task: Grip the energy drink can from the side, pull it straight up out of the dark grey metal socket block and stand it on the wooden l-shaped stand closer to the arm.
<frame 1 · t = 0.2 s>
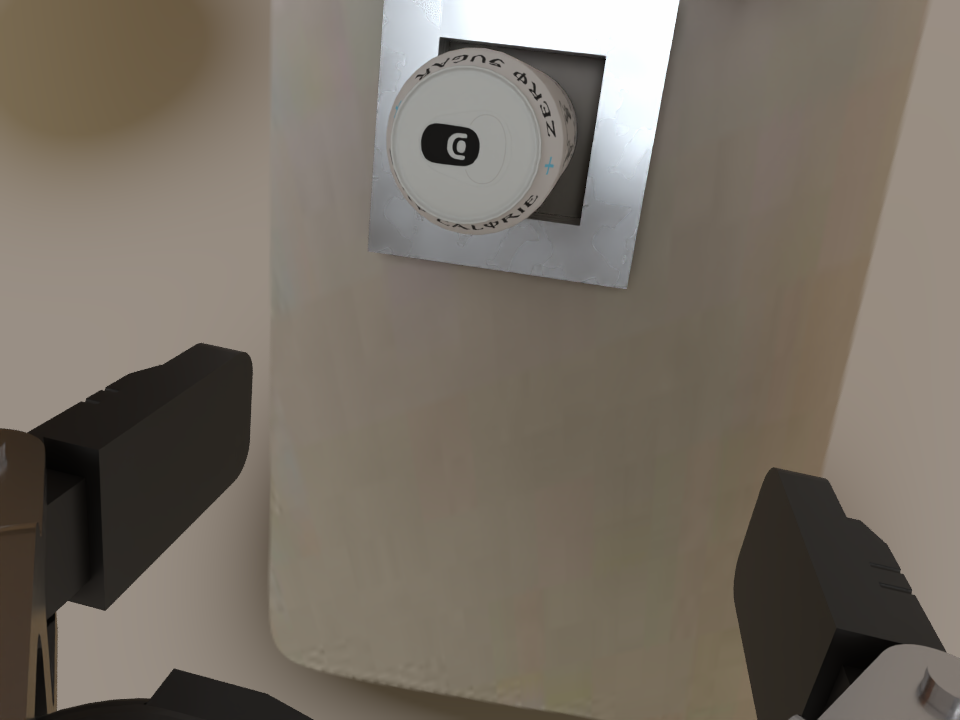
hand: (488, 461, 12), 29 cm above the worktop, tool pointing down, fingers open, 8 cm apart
energy drink can: (517, 131, 38), resting in socket block
socket block: (517, 131, 38), on the worktop
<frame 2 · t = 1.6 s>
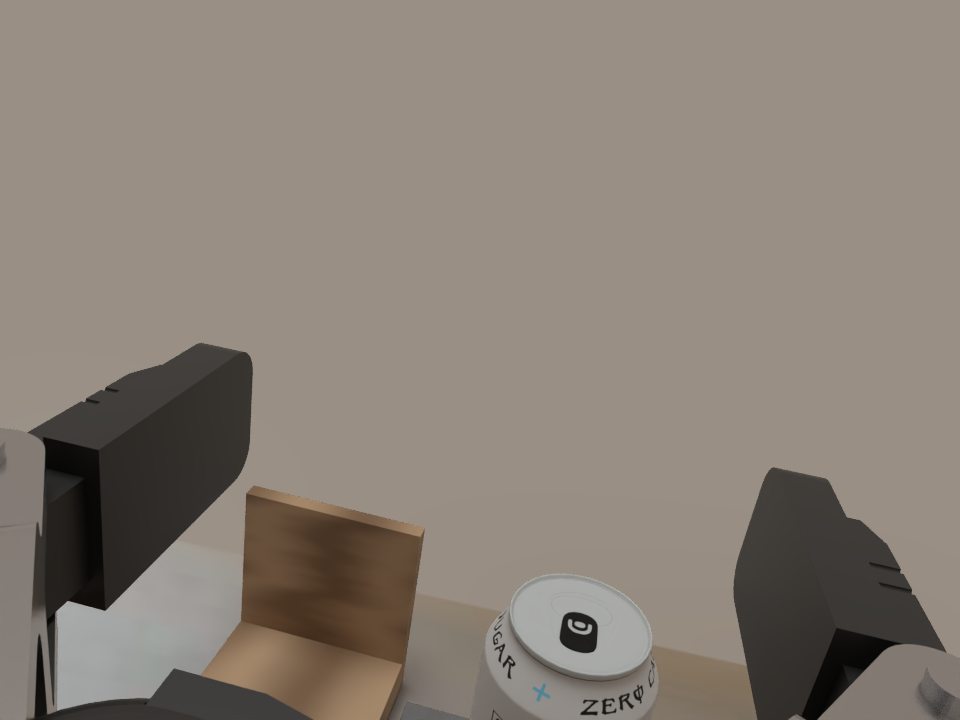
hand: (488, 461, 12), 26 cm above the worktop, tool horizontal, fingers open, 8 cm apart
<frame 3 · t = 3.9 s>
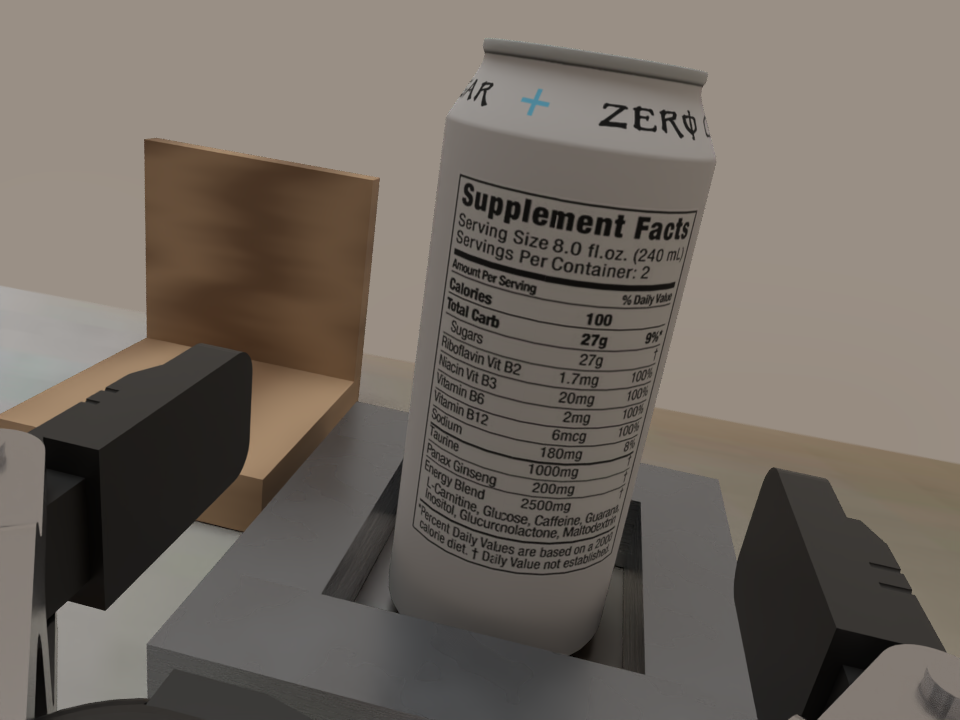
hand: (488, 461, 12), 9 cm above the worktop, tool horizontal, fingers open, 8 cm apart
energy drink can: (489, 620, 22), resting in socket block
wooden l-shaped stand: (200, 442, 28), on the worktop
socket block: (490, 614, 22), on the worktop
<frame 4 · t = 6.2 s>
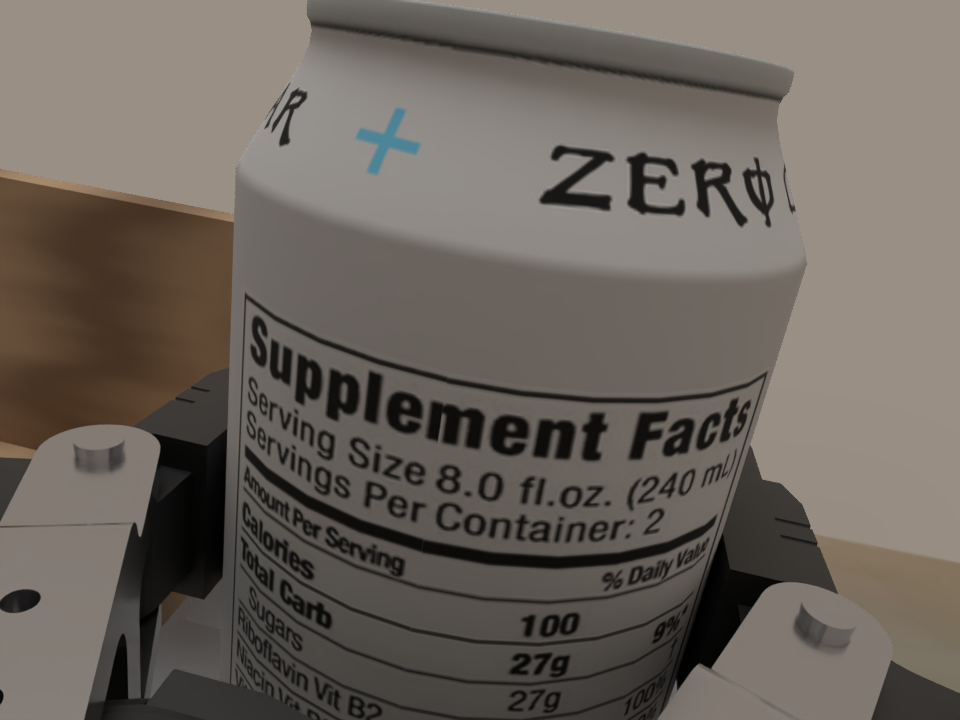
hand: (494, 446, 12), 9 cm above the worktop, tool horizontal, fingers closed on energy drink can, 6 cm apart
wooden l-shaped stand: (12, 599, 20), on the worktop
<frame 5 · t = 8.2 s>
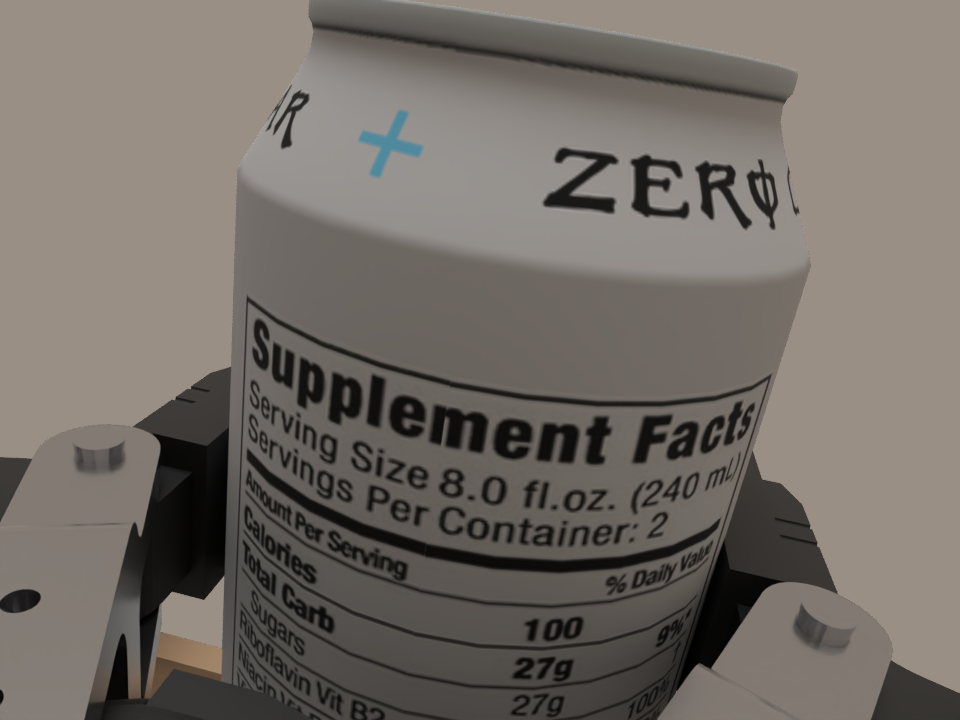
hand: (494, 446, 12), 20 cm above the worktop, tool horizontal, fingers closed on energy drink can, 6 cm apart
when the fingers open (12 cm above the worktop, at t = 10.5 s): energy drink can drops 1 cm, resting on wooden l-shaped stand.
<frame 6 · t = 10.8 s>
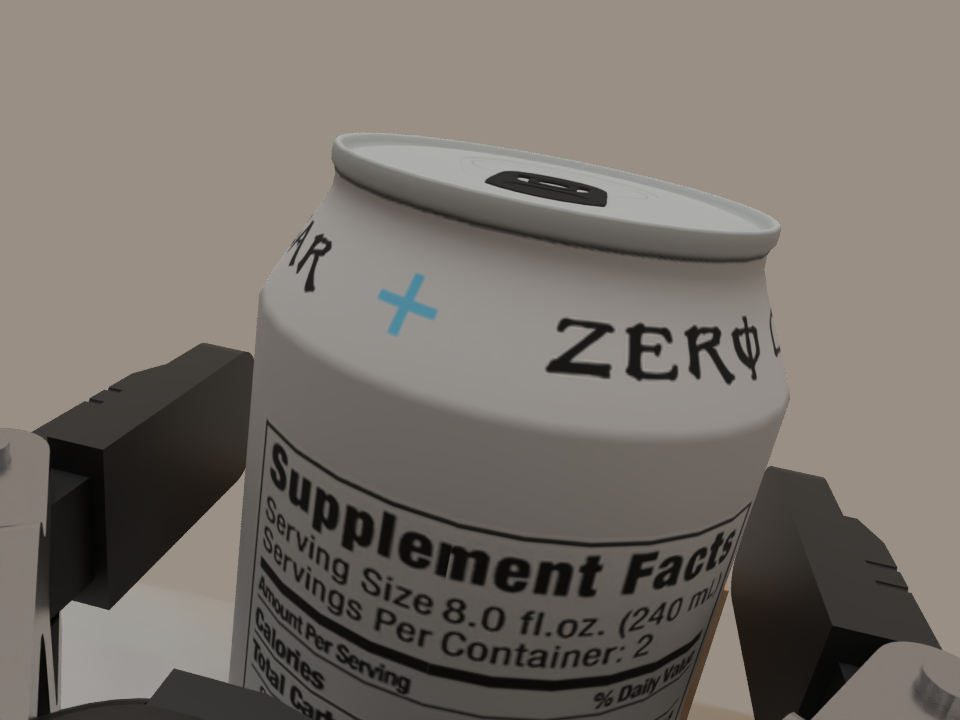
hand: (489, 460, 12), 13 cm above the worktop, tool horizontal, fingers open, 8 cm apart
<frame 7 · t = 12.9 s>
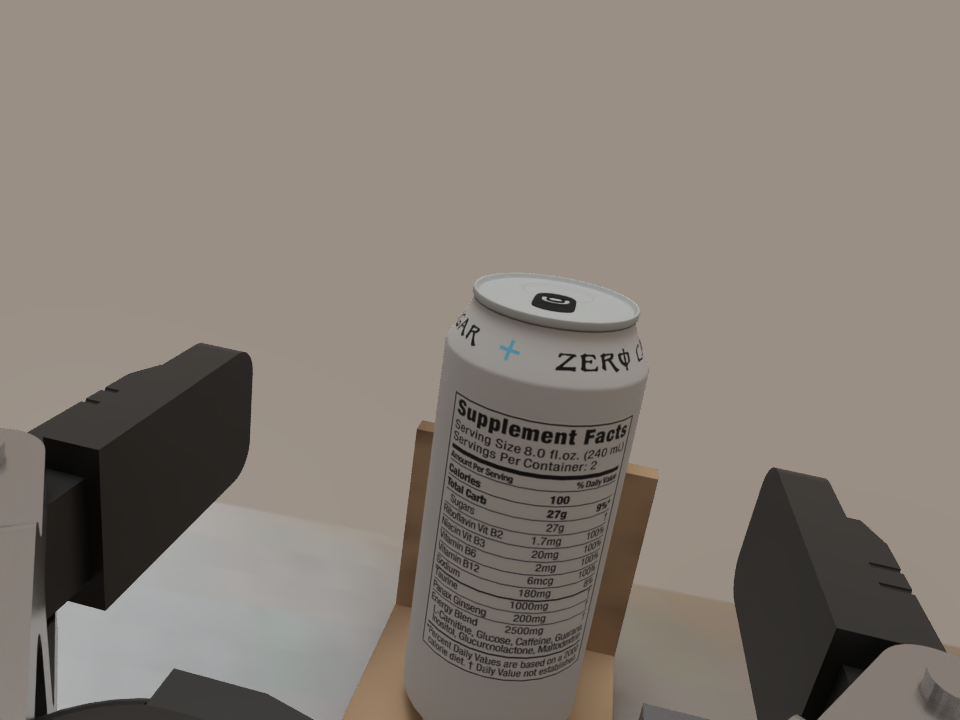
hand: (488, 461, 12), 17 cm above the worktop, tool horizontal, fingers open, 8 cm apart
energy drink can: (484, 704, 27), point 2 cm above the worktop, touching wooden l-shaped stand
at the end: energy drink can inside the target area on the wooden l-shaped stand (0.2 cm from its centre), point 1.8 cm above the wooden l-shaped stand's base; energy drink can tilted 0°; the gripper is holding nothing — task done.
